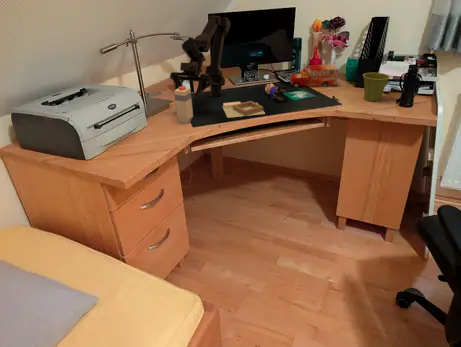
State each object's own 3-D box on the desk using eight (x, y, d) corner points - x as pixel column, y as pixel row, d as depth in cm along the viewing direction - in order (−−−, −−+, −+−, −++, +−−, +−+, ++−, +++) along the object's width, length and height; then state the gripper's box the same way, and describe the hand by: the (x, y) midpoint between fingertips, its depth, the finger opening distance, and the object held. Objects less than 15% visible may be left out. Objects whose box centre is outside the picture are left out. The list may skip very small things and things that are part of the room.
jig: (222, 108, 166) (221, 102, 164) (257, 105, 168) (257, 98, 166) (227, 120, 153) (227, 113, 151) (265, 116, 155) (265, 109, 154)
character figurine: (275, 104, 169) (264, 95, 181) (289, 101, 170) (277, 93, 182) (274, 88, 164) (263, 81, 177) (289, 85, 166) (276, 78, 178)
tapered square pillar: (183, 117, 158) (179, 84, 150) (193, 119, 156) (190, 85, 148) (177, 122, 154) (173, 88, 146) (188, 123, 152) (184, 89, 144)
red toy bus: (288, 83, 198) (289, 65, 193) (333, 81, 197) (335, 63, 192) (291, 88, 189) (292, 70, 184) (337, 87, 188) (339, 68, 182)
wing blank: (223, 106, 165) (223, 103, 164) (239, 104, 166) (239, 101, 165) (224, 108, 162) (224, 105, 162) (241, 106, 163) (241, 103, 163)
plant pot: (384, 104, 162) (388, 80, 156) (357, 101, 167) (360, 77, 161) (387, 96, 171) (391, 73, 165) (361, 94, 176) (365, 71, 170)
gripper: (169, 53, 151) (159, 85, 148) (208, 54, 145) (198, 88, 142) (179, 67, 161) (170, 98, 158) (217, 69, 155) (208, 101, 152)
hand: (186, 96), depth 152 cm, fingers open, 9 cm apart
